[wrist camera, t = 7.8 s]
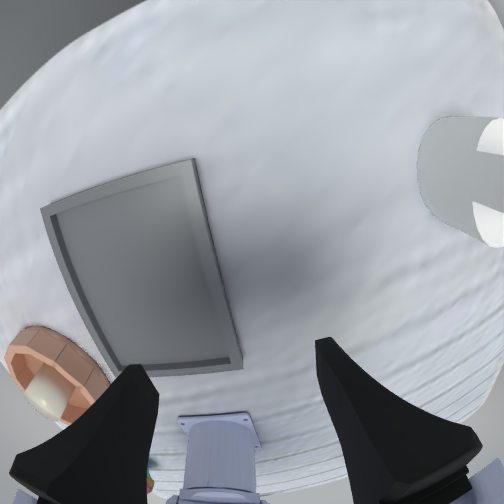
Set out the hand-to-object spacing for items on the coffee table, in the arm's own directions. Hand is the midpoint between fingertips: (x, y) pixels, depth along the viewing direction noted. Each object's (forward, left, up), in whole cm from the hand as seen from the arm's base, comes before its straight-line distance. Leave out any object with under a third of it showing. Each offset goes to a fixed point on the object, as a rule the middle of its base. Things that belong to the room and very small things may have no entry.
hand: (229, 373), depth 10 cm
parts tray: (0, +7, -9) cm, 12 cm away
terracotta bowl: (-9, +22, -9) cm, 25 cm away
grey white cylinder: (+5, -19, -10) cm, 22 cm away
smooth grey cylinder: (-9, +22, -9) cm, 25 cm away
